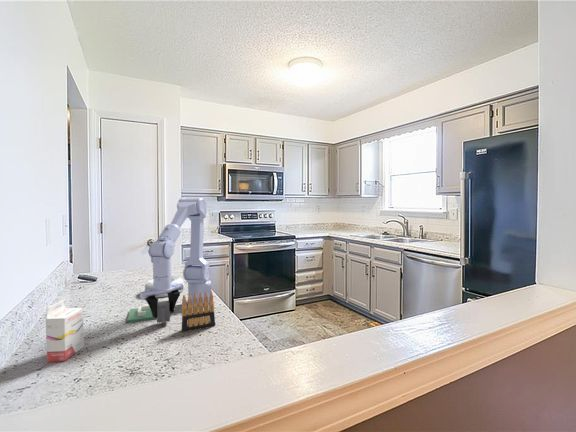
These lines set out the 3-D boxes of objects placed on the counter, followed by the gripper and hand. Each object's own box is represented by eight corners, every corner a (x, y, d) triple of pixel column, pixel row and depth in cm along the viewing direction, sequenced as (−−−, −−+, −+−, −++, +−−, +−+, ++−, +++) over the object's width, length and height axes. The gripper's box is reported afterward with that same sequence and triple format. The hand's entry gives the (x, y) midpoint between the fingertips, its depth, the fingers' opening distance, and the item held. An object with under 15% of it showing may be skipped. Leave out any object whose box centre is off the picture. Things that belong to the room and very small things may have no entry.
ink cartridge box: (66, 361, 81) (63, 307, 80) (46, 362, 81) (43, 308, 80) (84, 346, 90) (82, 297, 89) (67, 347, 89) (65, 297, 88)
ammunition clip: (182, 332, 99) (181, 295, 98) (181, 329, 101) (180, 294, 100) (215, 326, 103) (214, 291, 103) (214, 324, 105) (213, 290, 105)
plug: (169, 317, 108) (169, 300, 108) (169, 322, 103) (169, 304, 103) (157, 318, 107) (156, 301, 106) (157, 324, 102) (156, 306, 102)
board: (169, 306, 123) (169, 300, 123) (169, 317, 112) (169, 310, 112) (130, 311, 118) (130, 305, 118) (126, 323, 107) (126, 316, 106)
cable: (173, 285, 156) (173, 273, 156) (192, 291, 144) (191, 279, 144) (138, 293, 143) (138, 280, 142) (155, 301, 131) (155, 287, 131)
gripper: (176, 270, 113) (177, 306, 113) (135, 277, 102) (137, 317, 103) (186, 273, 108) (187, 310, 109) (144, 281, 97) (145, 323, 98)
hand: (163, 314), depth 105 cm, fingers closed on plug, 5 cm apart
